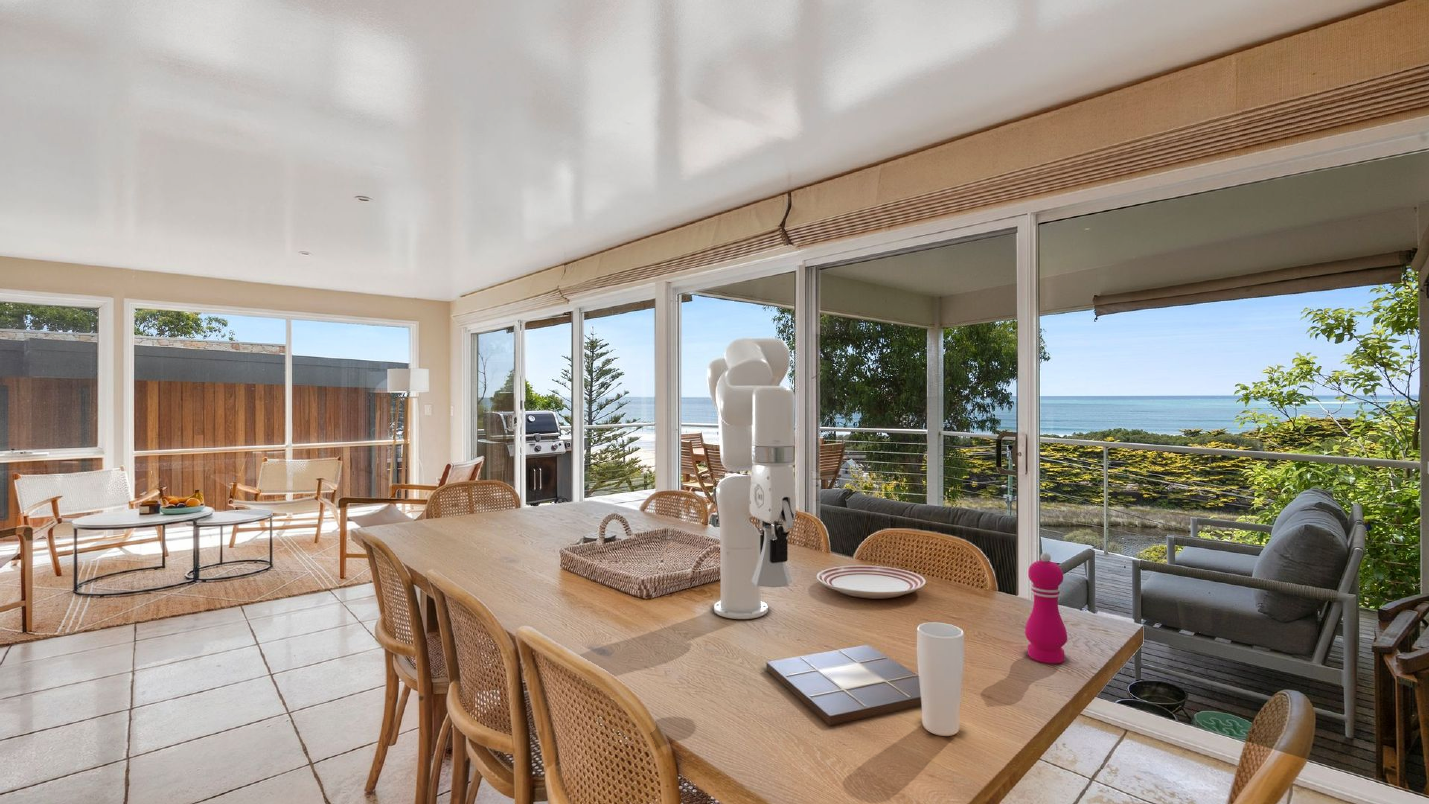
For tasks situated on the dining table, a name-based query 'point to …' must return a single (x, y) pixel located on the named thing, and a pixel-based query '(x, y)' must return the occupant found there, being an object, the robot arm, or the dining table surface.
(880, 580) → the dinner plate
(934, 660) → the drinking glass
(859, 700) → the board
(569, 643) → the dining table surface
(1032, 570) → the pepper mill
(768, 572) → the flask
